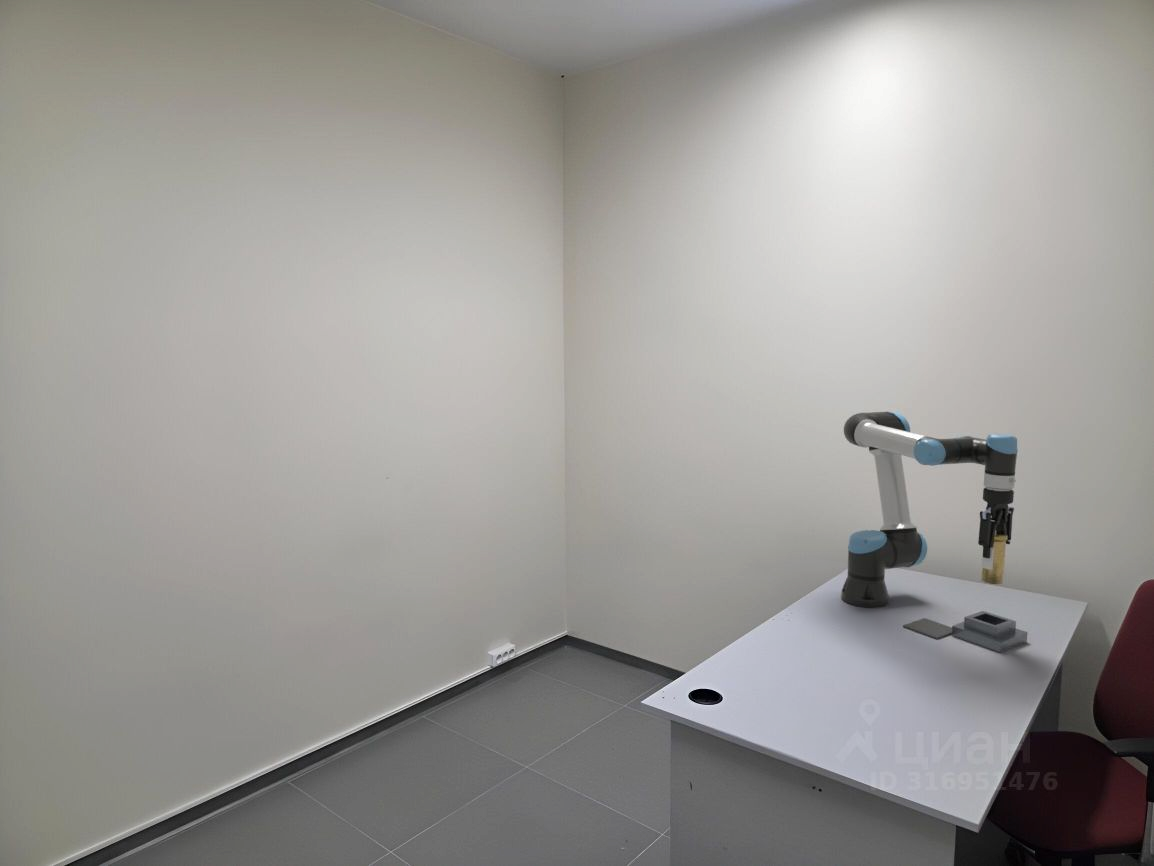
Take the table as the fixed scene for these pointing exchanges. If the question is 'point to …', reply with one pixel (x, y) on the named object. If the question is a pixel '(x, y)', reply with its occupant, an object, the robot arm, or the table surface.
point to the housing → (990, 631)
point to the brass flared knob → (996, 561)
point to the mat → (929, 628)
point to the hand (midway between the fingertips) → (992, 566)
